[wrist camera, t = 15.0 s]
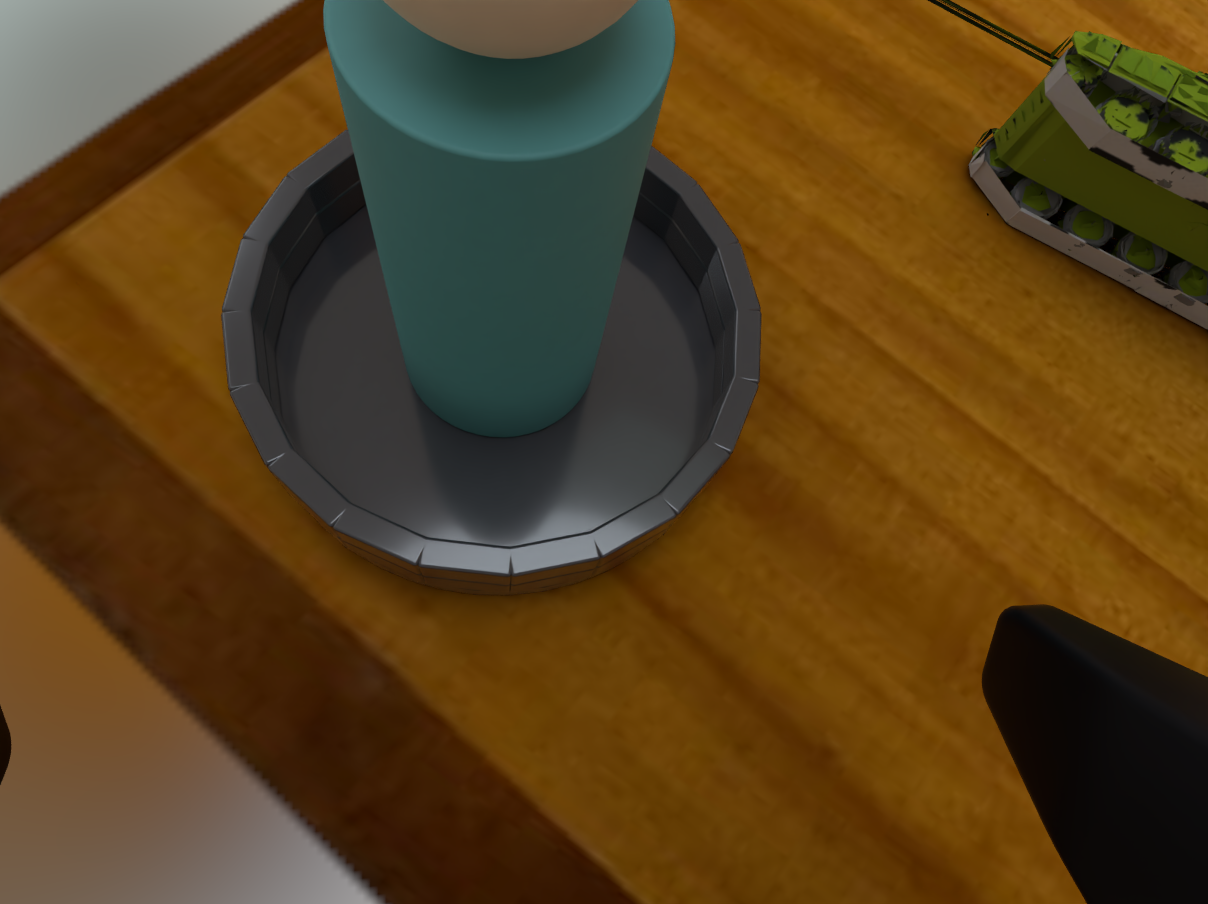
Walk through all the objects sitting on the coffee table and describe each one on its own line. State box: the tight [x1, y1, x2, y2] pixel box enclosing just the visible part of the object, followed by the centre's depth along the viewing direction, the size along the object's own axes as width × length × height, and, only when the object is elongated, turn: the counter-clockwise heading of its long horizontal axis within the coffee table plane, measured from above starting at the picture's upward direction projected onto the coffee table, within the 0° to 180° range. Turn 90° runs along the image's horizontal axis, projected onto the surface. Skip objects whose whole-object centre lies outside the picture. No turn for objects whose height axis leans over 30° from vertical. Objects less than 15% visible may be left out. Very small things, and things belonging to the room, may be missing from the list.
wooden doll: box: [323, 0, 675, 437], centre depth 13 cm, size 4×4×14 cm
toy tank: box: [928, 0, 1208, 330], centre depth 21 cm, size 7×19×10 cm
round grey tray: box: [221, 130, 761, 595], centre depth 19 cm, size 11×11×2 cm
